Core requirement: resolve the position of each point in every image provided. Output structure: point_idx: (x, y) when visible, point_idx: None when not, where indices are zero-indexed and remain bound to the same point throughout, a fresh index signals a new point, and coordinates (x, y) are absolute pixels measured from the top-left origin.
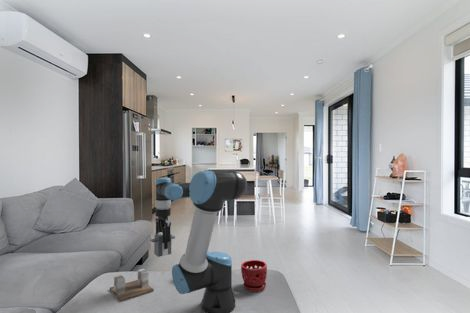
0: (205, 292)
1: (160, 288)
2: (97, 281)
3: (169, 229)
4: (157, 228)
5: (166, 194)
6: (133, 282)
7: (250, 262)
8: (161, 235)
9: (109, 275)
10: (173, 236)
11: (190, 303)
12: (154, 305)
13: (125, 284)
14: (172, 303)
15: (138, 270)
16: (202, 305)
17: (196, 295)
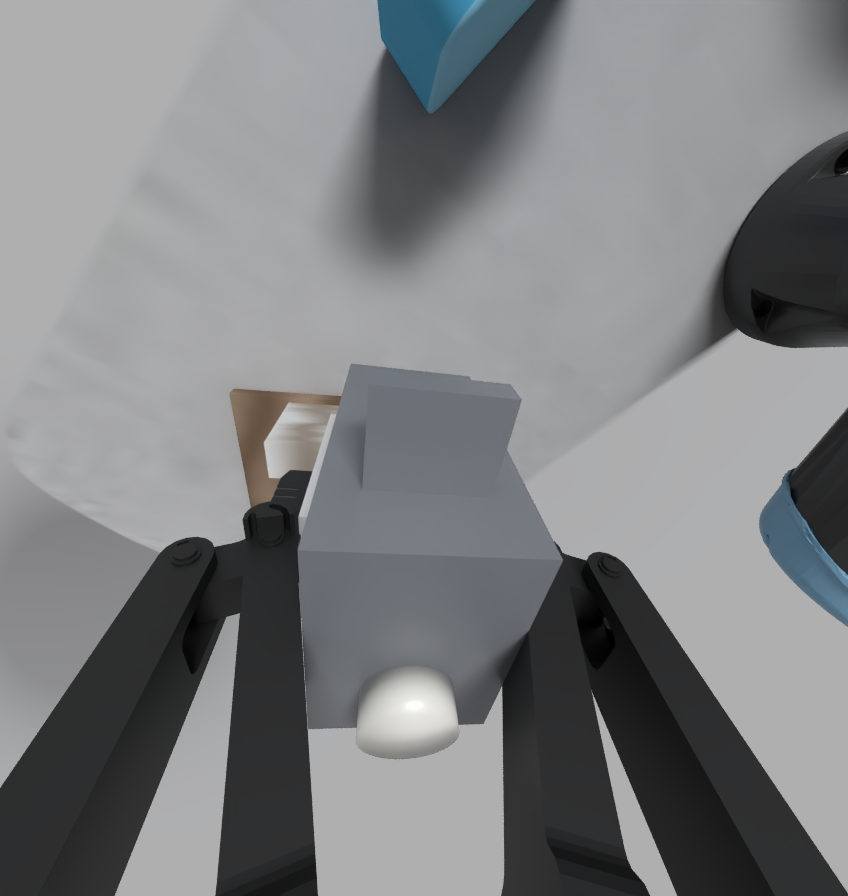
0: (839, 338)
1: (404, 358)
2: (127, 529)
3: (809, 874)
4: (140, 813)
5: None
6: (257, 439)
7: None
8: (454, 687)
9: (59, 474)
10: (473, 413)
11: (659, 339)
12: (528, 456)
13: (259, 473)
14: (581, 398)
15: (276, 476)
16: (766, 342)
17: (639, 256)
